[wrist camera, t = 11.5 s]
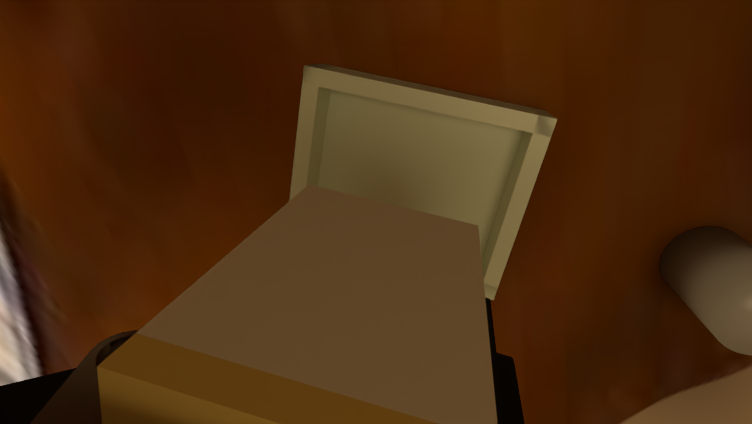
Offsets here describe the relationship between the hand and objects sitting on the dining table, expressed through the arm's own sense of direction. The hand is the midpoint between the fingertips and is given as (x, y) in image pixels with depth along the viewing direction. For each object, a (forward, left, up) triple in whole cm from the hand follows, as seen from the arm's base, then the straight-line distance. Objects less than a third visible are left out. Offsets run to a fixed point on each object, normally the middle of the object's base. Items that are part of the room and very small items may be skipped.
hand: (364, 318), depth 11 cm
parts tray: (0, 0, -13) cm, 13 cm away
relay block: (0, 0, -1) cm, 1 cm away
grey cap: (+16, -1, -13) cm, 21 cm away
